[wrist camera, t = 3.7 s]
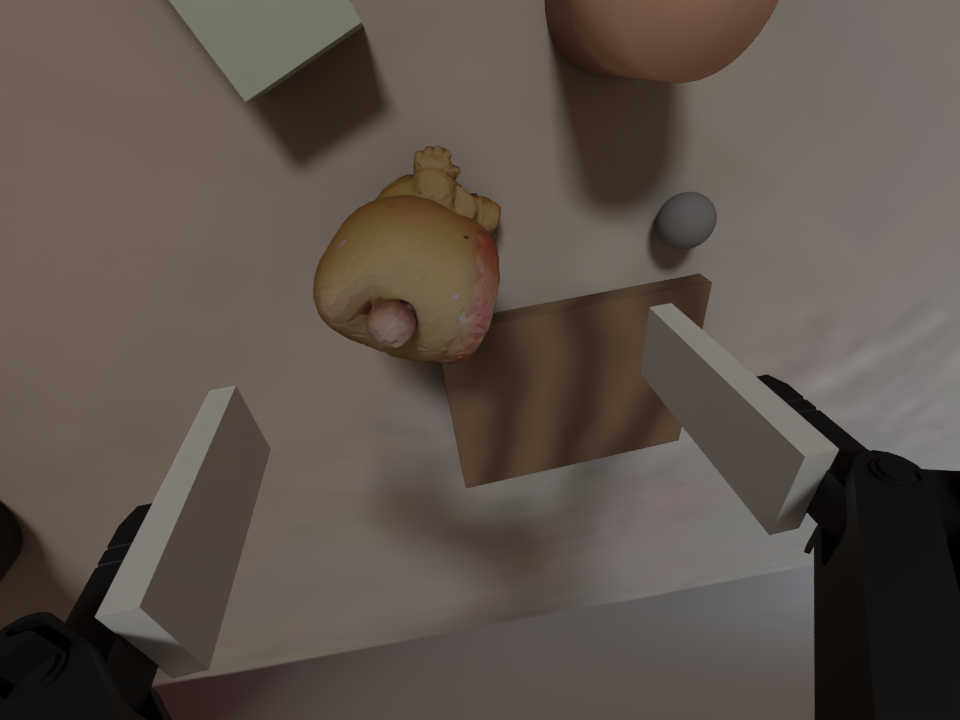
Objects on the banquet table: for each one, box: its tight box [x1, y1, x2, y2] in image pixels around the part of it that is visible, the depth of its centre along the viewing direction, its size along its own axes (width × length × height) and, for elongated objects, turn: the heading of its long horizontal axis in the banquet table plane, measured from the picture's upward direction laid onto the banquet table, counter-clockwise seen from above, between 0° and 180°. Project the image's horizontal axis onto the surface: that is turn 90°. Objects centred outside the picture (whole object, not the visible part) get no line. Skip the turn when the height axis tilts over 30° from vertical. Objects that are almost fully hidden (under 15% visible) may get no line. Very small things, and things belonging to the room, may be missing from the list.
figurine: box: [313, 146, 501, 364], centre depth 22 cm, size 10×8×15 cm
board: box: [441, 274, 712, 488], centre depth 36 cm, size 20×16×2 cm
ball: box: [656, 192, 717, 249], centre depth 29 cm, size 4×4×4 cm
